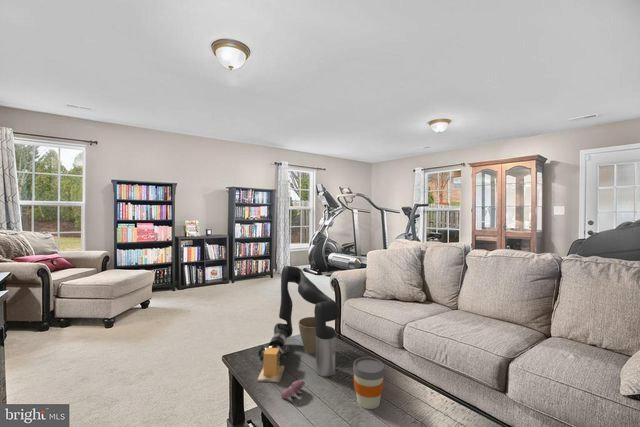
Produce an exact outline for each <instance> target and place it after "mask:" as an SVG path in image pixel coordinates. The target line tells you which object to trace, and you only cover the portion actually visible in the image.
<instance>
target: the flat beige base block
mask: <svg viewBox="0 0 640 427" xmlns="http://www.w3.org/2000/svg"><path fill="white" fill-rule="evenodd" d="M284 370H285V365H279V371H278V373H277V376H264V365H263V366H262V369H261V371H260V373H259V375H258V378H257V382H262V383H263V382H264V383H265V382H266V383H281V379H282V377H283V373H284Z"/></svg>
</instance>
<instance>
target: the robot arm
mask: <svg viewBox="0 0 640 427" xmlns="http://www.w3.org/2000/svg"><path fill="white" fill-rule="evenodd" d="M280 274H281V275H280V307H279V313H278V317H279V319H280V320H283V321H285V322H286V323H281V322H279V323H278V322H277V323H276V324H275V325H274V327H273V336H272V337H271V340H270V341H269V344H268V346H266V347H265V346H264V345H261V346H260V348H259V349H258V353H257V354H258V357H259V360H260V361H261V362H264V352H265V350H266V348H279V362H282V361H283V359H284V358H288V357H289V354H290V347H289V346H286V342H287V339H288V338H290V337H292V335H293V323H292V313H293V299H292V297H291V295H290V293H289V283H294V284H297V285H298V286H297V291H298V294H299V295H300V296H301V297H302V299H303V300H304V301H305V302H307V303H311V304H313V305H315V306H314V311H313V312H314V317H315V330H316V354H315V373H316V375H318V376H320V377H331V376H335V375H336V329H335V328H334V327H332V326H329V325H327V322H328V323H329V322H333V321H336V320H338V319H339V318H340V316H341V310H340V306H339V305H338V303H337V301H335V300H333V299H332V298H331V297H329V296H328V295H326V294H325V293H324V292H323V291H321V289H319V287H318V286H316V284H314V282H312V281H311V280H310V279H309V278H308V277H307V276H306V275H305V273H304V272H303V271H302V269H301V268H300V267H298V266H290V265H285V266H284V267H283V268H282V269H281V273H280ZM285 346H286V347H285Z"/></svg>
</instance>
